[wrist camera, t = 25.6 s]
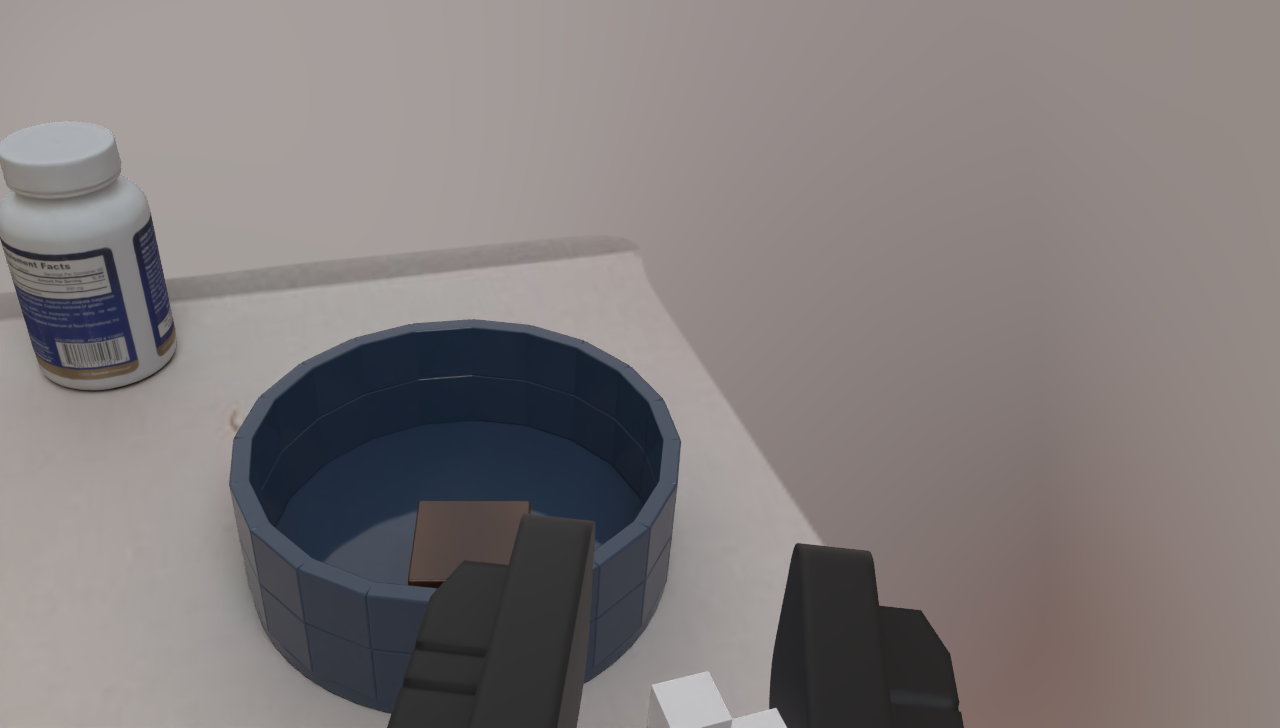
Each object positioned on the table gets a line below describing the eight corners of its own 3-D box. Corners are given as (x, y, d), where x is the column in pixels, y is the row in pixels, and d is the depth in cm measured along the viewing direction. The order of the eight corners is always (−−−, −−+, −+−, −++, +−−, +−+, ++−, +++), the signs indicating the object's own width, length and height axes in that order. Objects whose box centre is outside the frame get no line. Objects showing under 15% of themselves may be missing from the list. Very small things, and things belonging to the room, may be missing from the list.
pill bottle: (118, 309, 50) (68, 102, 44) (206, 347, 48) (165, 135, 42) (10, 366, 46) (-60, 147, 40) (100, 410, 44) (40, 186, 38)
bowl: (677, 443, 45) (689, 340, 42) (652, 743, 33) (665, 628, 30) (328, 408, 45) (315, 302, 42) (181, 691, 33) (149, 573, 30)
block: (529, 577, 37) (530, 499, 35) (528, 660, 34) (529, 580, 32) (423, 578, 37) (418, 499, 35) (413, 661, 34) (407, 581, 32)
